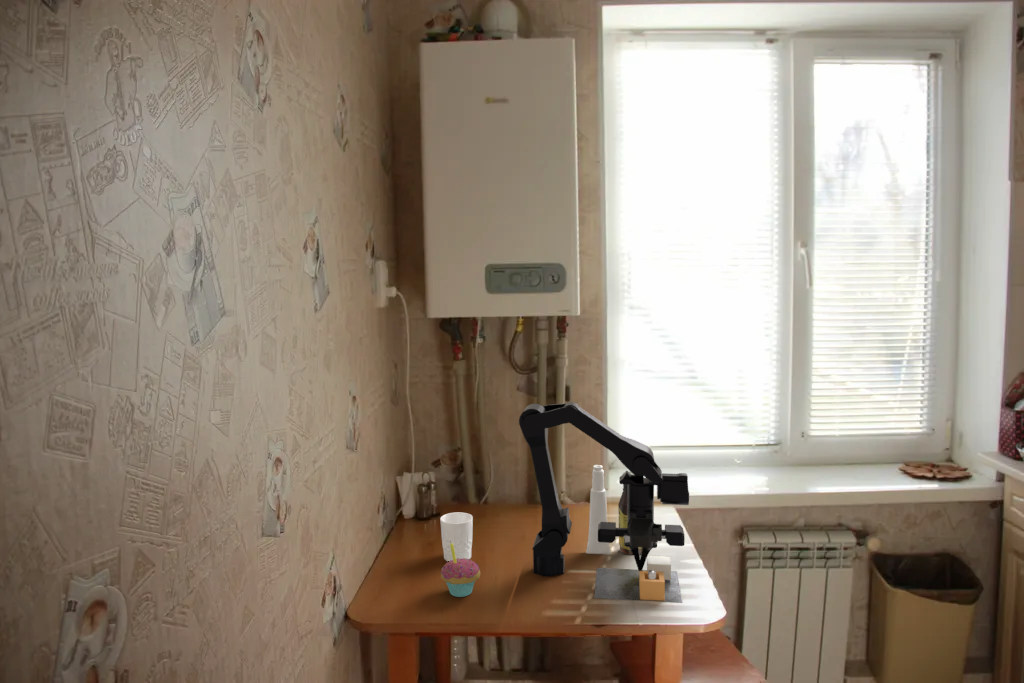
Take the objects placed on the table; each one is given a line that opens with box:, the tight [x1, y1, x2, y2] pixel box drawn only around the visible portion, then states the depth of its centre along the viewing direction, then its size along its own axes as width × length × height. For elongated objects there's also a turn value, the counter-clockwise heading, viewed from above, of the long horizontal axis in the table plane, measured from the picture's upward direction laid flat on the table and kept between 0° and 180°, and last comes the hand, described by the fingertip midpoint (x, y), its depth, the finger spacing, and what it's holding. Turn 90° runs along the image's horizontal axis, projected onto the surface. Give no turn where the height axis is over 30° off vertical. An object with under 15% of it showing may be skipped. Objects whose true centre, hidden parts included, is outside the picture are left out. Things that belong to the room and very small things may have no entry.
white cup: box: [439, 511, 474, 562], centre depth 174 cm, size 8×8×10 cm
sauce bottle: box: [618, 470, 642, 556], centre depth 174 cm, size 7×6×20 cm
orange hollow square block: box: [639, 571, 665, 601], centre depth 150 cm, size 5×5×4 cm
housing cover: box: [646, 555, 672, 580], centre depth 159 cm, size 5×4×3 cm
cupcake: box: [440, 541, 481, 598], centre depth 155 cm, size 9×8×12 cm
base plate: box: [593, 567, 683, 604], centre depth 155 cm, size 18×15×6 cm
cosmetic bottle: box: [585, 464, 612, 555], centre depth 174 cm, size 6×6×22 cm
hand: (640, 570), depth 159 cm, fingers closed
